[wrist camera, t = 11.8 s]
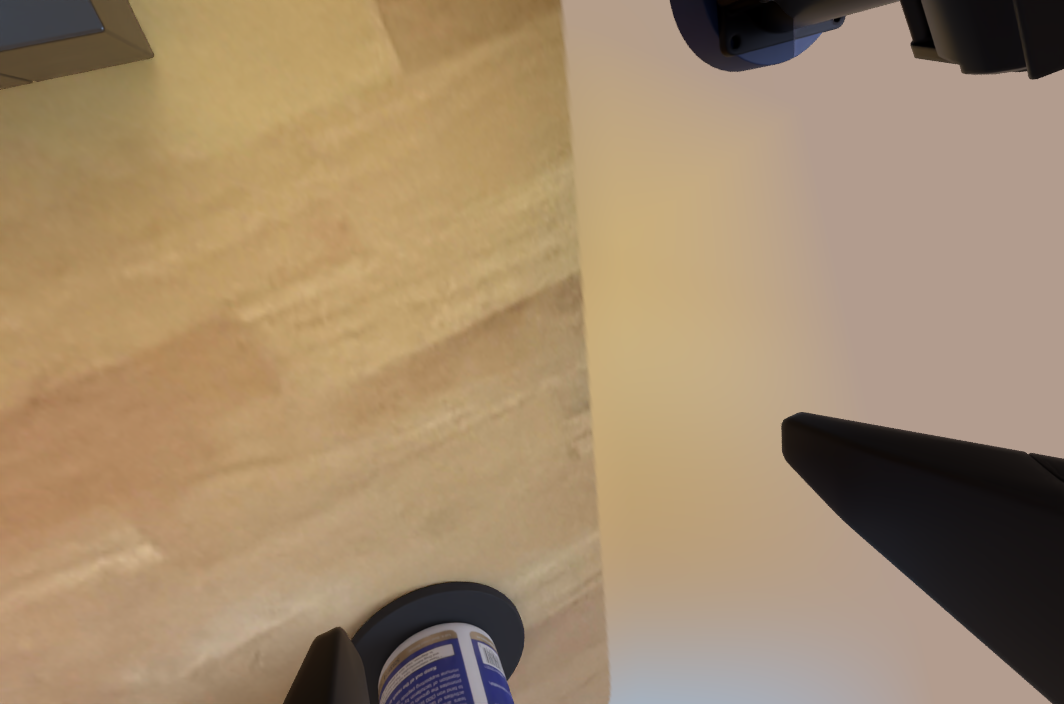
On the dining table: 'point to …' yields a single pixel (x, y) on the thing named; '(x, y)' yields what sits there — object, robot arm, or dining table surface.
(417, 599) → the coaster
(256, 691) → the dining table surface
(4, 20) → the stand
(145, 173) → the dining table surface
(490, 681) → the pill bottle
